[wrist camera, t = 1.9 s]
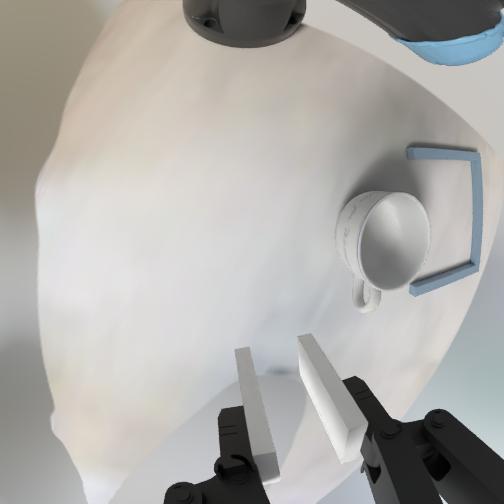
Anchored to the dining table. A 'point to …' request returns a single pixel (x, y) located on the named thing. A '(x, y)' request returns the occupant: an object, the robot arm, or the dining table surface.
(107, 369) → the dining table surface
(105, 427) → the dining table surface
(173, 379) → the dining table surface
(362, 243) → the teacup
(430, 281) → the tray frame
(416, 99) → the dining table surface
